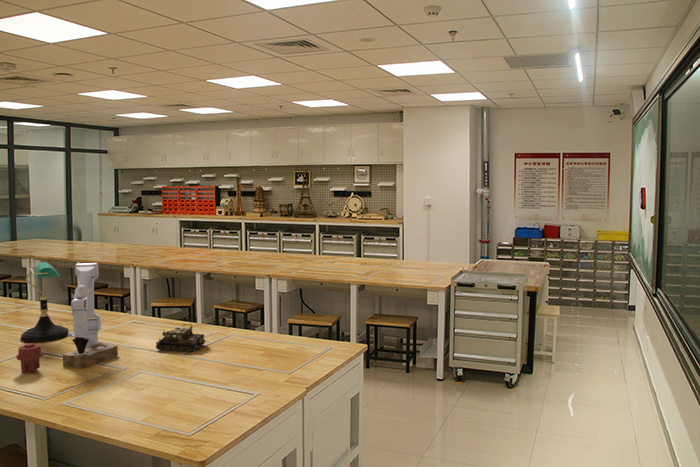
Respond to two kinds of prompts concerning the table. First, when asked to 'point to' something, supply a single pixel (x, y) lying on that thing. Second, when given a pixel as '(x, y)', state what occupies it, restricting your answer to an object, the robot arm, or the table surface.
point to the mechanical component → (29, 357)
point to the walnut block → (90, 356)
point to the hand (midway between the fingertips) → (81, 353)
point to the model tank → (180, 340)
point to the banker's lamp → (44, 313)
